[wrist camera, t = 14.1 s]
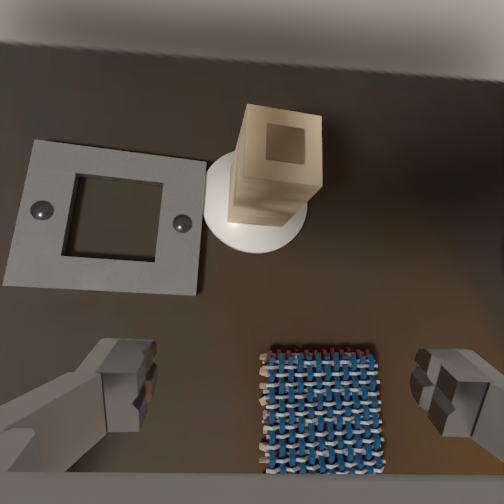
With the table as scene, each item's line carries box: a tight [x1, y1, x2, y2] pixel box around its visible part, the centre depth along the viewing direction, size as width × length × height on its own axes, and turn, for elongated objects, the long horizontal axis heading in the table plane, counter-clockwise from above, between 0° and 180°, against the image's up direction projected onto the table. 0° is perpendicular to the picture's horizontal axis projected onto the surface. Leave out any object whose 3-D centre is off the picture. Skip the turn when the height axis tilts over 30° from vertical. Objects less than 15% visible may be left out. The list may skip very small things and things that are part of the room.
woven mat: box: [259, 347, 386, 474], centre depth 25 cm, size 10×11×2 cm
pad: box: [202, 151, 307, 254], centre depth 28 cm, size 10×10×1 cm
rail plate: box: [2, 140, 207, 296], centre depth 25 cm, size 14×12×1 cm
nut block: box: [227, 104, 323, 227], centre depth 23 cm, size 5×5×9 cm
